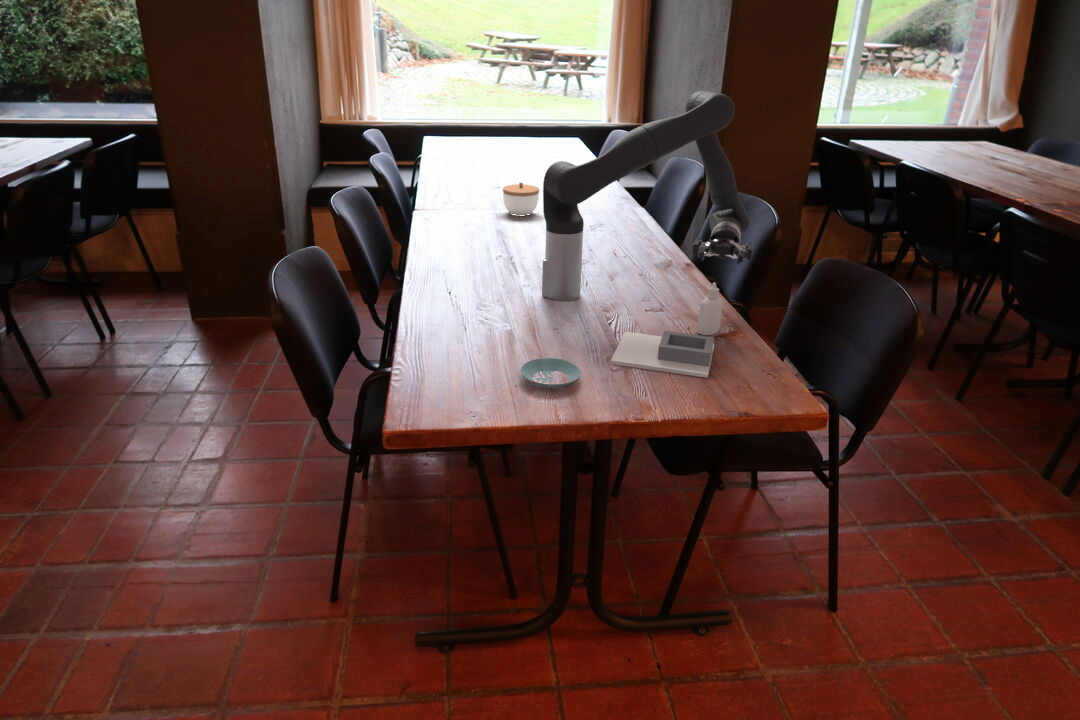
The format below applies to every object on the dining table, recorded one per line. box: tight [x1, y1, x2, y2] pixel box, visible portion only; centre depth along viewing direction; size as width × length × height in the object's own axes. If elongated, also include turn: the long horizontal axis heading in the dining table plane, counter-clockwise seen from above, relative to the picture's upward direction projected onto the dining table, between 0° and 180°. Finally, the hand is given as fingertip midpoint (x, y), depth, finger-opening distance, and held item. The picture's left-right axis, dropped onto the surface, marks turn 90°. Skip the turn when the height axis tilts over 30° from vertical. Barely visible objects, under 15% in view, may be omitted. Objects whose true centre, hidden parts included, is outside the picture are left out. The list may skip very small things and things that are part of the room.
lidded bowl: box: [502, 182, 540, 215], centre depth 264 cm, size 13×13×11 cm
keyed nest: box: [610, 330, 715, 379], centre depth 161 cm, size 20×16×4 cm
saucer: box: [520, 357, 581, 389], centre depth 150 cm, size 12×12×2 cm
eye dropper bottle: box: [696, 282, 724, 336], centre depth 171 cm, size 4×6×12 cm
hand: (720, 258), depth 178 cm, fingers open, 8 cm apart
